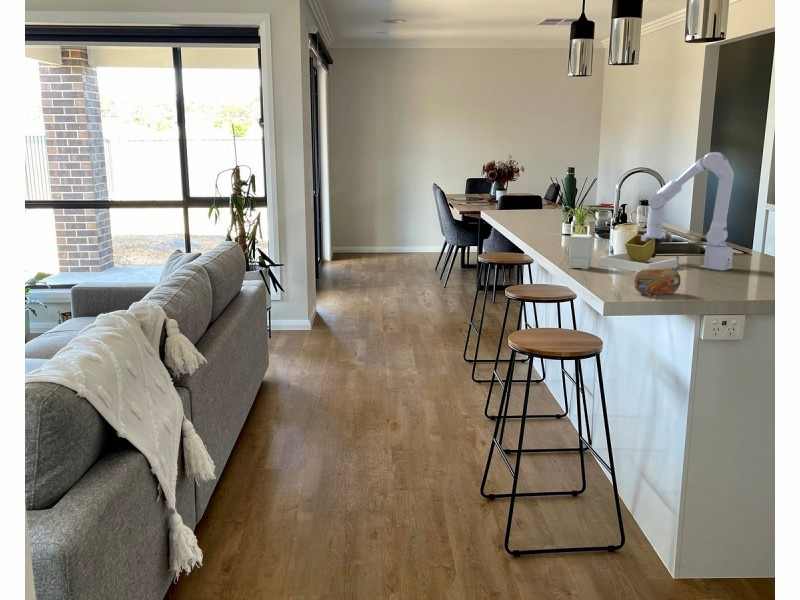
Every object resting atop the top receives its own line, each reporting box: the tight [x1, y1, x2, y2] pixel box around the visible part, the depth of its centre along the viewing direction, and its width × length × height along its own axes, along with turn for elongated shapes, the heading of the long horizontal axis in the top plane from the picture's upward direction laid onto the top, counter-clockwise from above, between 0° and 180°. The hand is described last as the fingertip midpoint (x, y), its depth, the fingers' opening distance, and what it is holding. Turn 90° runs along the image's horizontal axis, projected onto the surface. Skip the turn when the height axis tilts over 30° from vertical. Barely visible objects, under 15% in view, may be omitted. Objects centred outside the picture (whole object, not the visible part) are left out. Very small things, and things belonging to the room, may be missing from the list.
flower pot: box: [624, 234, 655, 264], centre depth 279 cm, size 9×9×9 cm
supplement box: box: [568, 233, 593, 270], centre depth 269 cm, size 7×7×13 cm
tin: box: [633, 268, 682, 296], centre depth 223 cm, size 15×3×8 cm, turn 100°
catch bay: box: [598, 251, 680, 273], centre depth 272 cm, size 22×21×4 cm
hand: (651, 257), depth 282 cm, fingers closed, pressing on flower pot
